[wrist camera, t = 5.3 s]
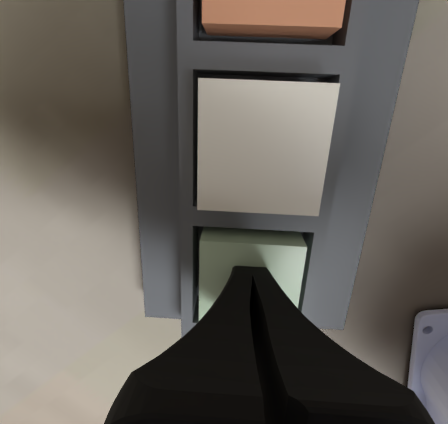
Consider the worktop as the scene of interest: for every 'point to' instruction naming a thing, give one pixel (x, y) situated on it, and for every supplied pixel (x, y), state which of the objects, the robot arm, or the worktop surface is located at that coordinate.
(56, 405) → the worktop surface
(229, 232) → the green button
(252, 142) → the cream button
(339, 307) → the button panel
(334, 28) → the terracotta button
